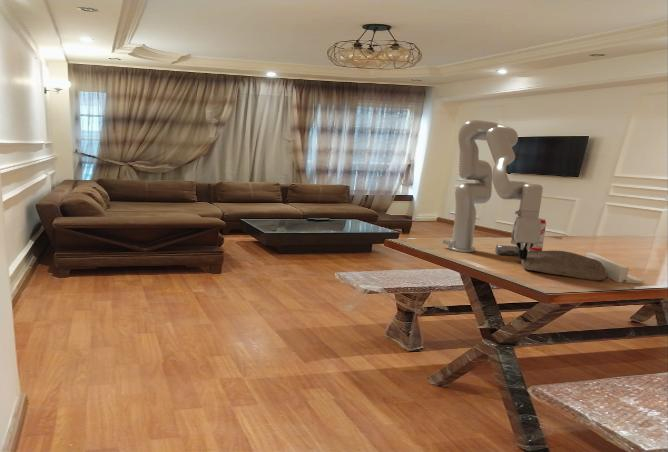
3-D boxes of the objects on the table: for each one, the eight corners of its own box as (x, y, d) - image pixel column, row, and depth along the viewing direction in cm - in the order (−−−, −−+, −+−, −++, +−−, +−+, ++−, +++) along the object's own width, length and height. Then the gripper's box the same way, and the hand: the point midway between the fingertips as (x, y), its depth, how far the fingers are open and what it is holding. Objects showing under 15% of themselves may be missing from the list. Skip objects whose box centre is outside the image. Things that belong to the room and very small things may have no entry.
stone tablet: (522, 272, 180) (607, 283, 171) (525, 252, 179) (610, 262, 170) (518, 261, 199) (594, 271, 190) (521, 243, 198) (597, 252, 189)
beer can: (544, 252, 219) (549, 220, 216) (531, 251, 219) (536, 219, 216) (538, 249, 225) (543, 218, 223) (526, 248, 225) (530, 217, 223)
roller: (494, 247, 212) (495, 255, 210) (498, 243, 208) (499, 252, 206) (515, 248, 212) (517, 257, 210) (519, 245, 208) (521, 253, 206)
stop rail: (618, 282, 173) (621, 267, 172) (584, 265, 197) (586, 252, 196) (642, 283, 173) (645, 268, 172) (605, 267, 197) (607, 253, 196)
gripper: (513, 214, 177) (507, 259, 180) (551, 217, 177) (544, 262, 180) (506, 211, 184) (500, 255, 187) (543, 214, 184) (536, 257, 187)
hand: (522, 258), depth 184 cm, fingers closed
